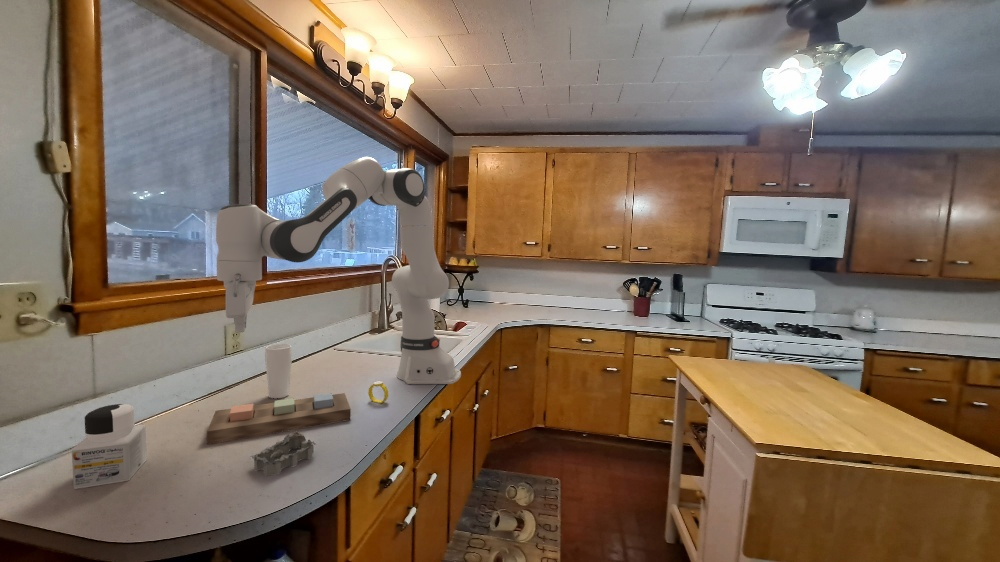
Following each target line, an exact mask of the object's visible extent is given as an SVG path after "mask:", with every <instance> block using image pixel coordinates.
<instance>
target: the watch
mask: <svg viewBox="0 0 1000 562" xmlns="http://www.w3.org/2000/svg"><path fill="white" fill-rule="evenodd" d="M374 387H380V388H382V390H383V392H384V397H383V400H381V399H377V398H376V397H374V394H373V388H374ZM367 394H368V397H369V400H371V402H372V403H376V404H377V403H378V404H383V403H384V402H386V401H387V400H388V398H389V390H388V388H387V386H386V385H385V384H384V381H382V380H377V381H374V382H373V384H371V385H370V386H369V388H368V393H367Z"/></svg>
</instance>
